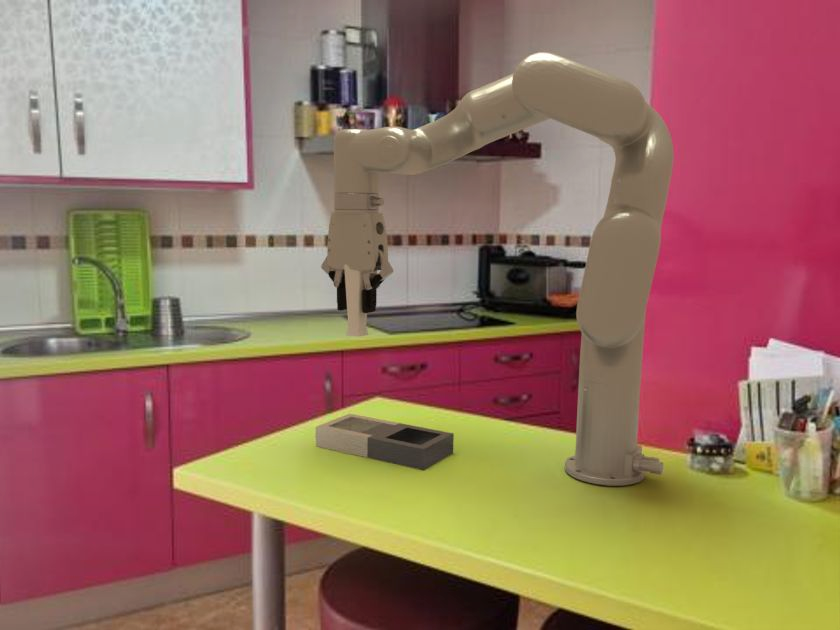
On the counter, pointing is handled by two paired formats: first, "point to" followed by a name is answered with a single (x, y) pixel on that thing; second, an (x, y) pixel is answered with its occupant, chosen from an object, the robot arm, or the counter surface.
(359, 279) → the perfume bottle
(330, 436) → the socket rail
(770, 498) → the counter surface
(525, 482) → the counter surface
